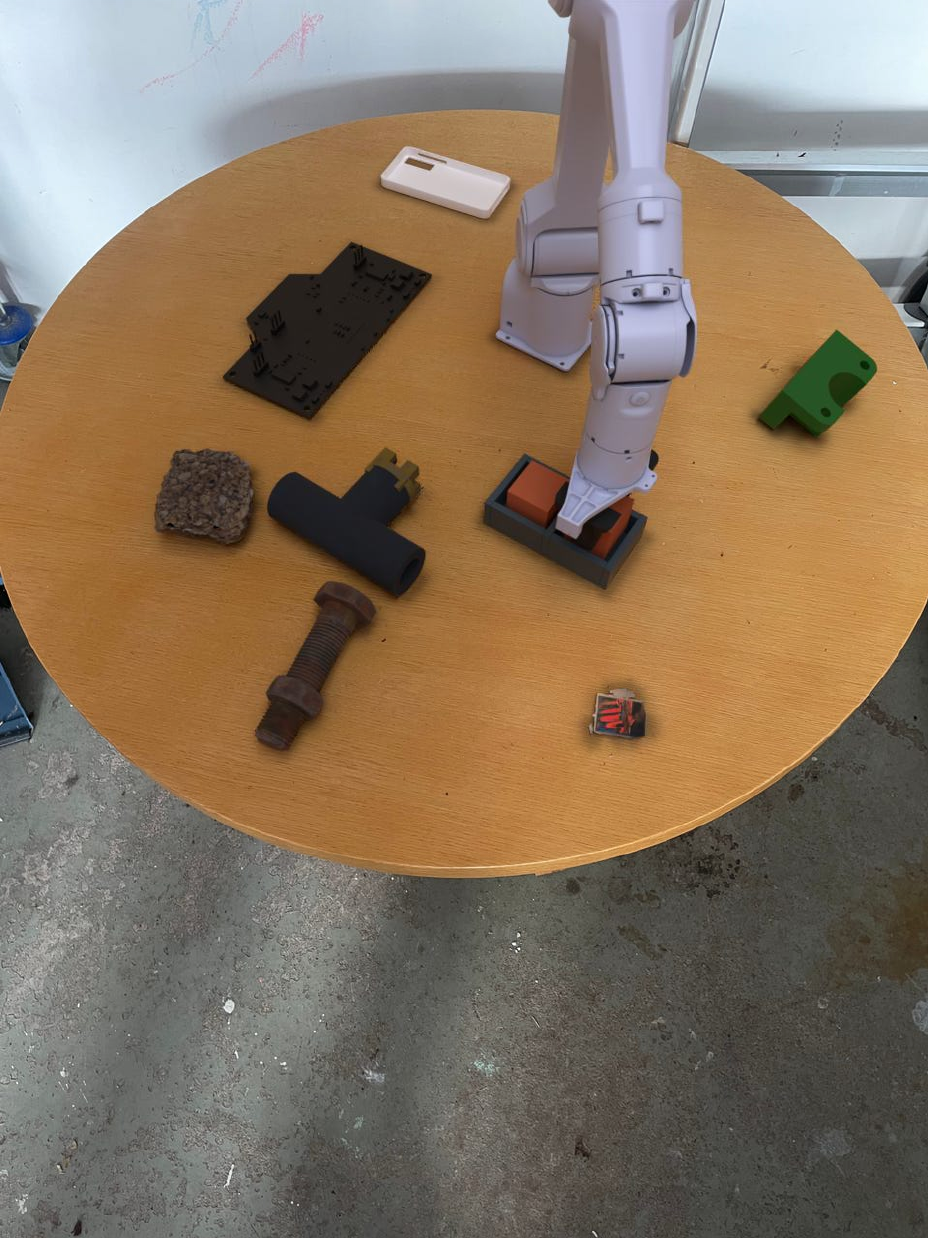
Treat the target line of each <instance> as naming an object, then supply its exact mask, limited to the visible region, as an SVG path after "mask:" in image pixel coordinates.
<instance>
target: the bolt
mask: <svg viewBox="0 0 928 1238" xmlns="http://www.w3.org/2000/svg"><path fill="white" fill-rule="evenodd" d="M312 601H314V602H315V604H316V605H317V606H319V608H320V610H319V612H318V613H317V616H316V619H315V621H314V624H313V625H312V628H311V629H310V631H309V632H308V634H307V635H306V638H305V639H304V641H303V643H302V645H301V647H300V648H299V651H298V652H297V653H296V657H294V660H293V661H292V664H291V665H290V667H289V668H288V671H287V673H286V674H285V675H284V674H282V675H277V676H276V677H275V678H274V679H273V680H272V681H271V683H270V685H269V686H268V688H267V690H266V692H265V695H266V698H267V699H268V701H269V702H270V704H269V705H268V708H266V711H265V712H264V715H263V716H262V718H260V722H259V723H258V725H257V726H256V729H254V737H255V738H256V739H257V742H259V743H260V744H262V745H264V746H267V747H269V748H272V749H274V750H276V751H281V752H284V751H288V750H290V748H289V747H291V746H292V745H291V744H293V740H295V737H296V736H297V733H298V732H299V730H300V729H301V726H302V725H303V724H302V723H304V720H306V721H307V720H308V721H310V720H312V719H314V718H316V717H317V716H318V715H319V713H320V712H321V710H322V707H323V705H324V704H325V703H324V700H323V697H322V695H321V694H320V693H319V692H320V691H321V689H322V688H323V685H325V683H324V682H326V681H327V680H326V679H327V678H328V675H329V674H330V672H331V671H332V669H333V667H334V665H335V662H337V659H338V658H339V656H340V653H341V652H342V650H343V648H344V646H345V645H346V644H345V643H346V642H347V640H348V639H349V637H350V636H351V635H352V634H353V632H354V630H355V628H356V629H358V630H360V629H362V628H364V627H366V626H367V625H369V624H371V623H372V622H373V620H374V619H375V616H376V614H377V609H376V607H375V604H374V602H373V601H372V600H371V598H370V597H368V596H367V595H366V594H364V593H362V592H361V591H360V590H358V589H356V588H355V587H353V586H352V585H349V584H347V583H345V582H342V581H341V582H340V581H331V580H328V581H326V582H324V583H323V584H322V585H321V586H320V588H319V589H318V590H317V592H316V594H315V596H314V597H313V599H312Z"/></svg>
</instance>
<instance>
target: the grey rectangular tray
mask: <svg viewBox="0 0 928 1238" xmlns="http://www.w3.org/2000/svg"><path fill="white" fill-rule="evenodd" d="M531 461H534V462H536V463H538V464H540V465H542V466H544V467H546V468H548V469H550V470H552V471H554V472H555V473H557V474H559V475H561V476H563V477H565V478H567V479H569V480H570V478H571V476H569V475H568V474H565V473H563V472H561V471H559V470H558V469H555V468H554V467H552V466H550V465H548V464H546V463H544V462H542V461H540V460H538V459H536V458H535V457H533V456H531V455H529V454H527V453H523V454H522V455H521V457H520V458H519V459H518V461H517V462H516V463H515V464H514V465H513V467H512V468H511V469H510V470H509V472H508V473H506V476H505V477H504V478H502V480H501V481H500V483H499V484H498V485H497V487H496V488H495V489H494V490H493V492H492V493H491V494H490V495H489V497H488V498H487V499H486V500H485V501H484V507H483V508H484V510H483V524H484V525H486V526H487V527H490V528H492V529H494V530H496V531H498V532H499V533H501V534H503V535H505V536H506V537H508V538H509V539H512V540H514V541H516V542H517V543H519V544H521V545H523V546H525V547H527V548H528V549H530V550H531V551H534V552H535V553H537V554H539V555H541V556H543V557H545V558H546V559H548V560H550V561H551V562H554V563H556V565H557V564H558V565H559V566H561V567H563V568H565V569H566V570H568V571H570V572H572V573H574V574H576V575H577V576H579V577H581V578H582V579H584V580H586V581H588V582H589V583H592V584H594V585H595V586H597V587H599V588H600V589H603V590H604V591H605V590H607V589H608V587H609V586H610V584H611V582H612V581H613V580H614V578H615V577H616V575H617V574H618V572H619V571H620V570H621V568H622V566H623V565H624V563H625V562H626V561H627V559H628V558H629V556H630V555H631V553H632V552H633V550H634V549H635V547H636V546H637V544H638V543H639V541H640V540H641V538H642V536H643V534H644V531H645V528H646V525H647V521H648V519H649V517H648V516H647V515H645V514H643V513H640V512H639V511H637V510H635V509H633V508H632V510H631V514H630V517H629V520H628V524H627V527H626V529H625V531H624V532H623V533H622V535H621V536H620V538H619V539H618V541H617V542H616V543H615V545H614V546H613V548H612V549H611V551H610V552H609V553H608V555H607V556H606V558H605V559H604V560H603V559H601V558H599V557H597V556H595V555H593V554H592V553H590V552H588V551H586V550H584V549H582V548H580V547H579V546H577V545H575V544H573V543H571V542H569V541H567V540H566V539H564V538H563V537H564V533H563V532H562V531H560V530H558V529H556V522H557V517H556V518H555V519H554V521H553V522H552V523H551V525H550V526H549V527H548V529H547V530H546V529H545V528H543V527H541V526H540V525H538V524H536V523H534V522H532V521H530V520H528V519H527V518H525V517H523V516H521V515H519V514H517V513H515V512H514V511H512V510H510V509H508V508H506V504H507V493H508V490H509V488H510V487H511V486H512V485H513V483H514V482H515V481H516V480H517V478H518V477H519V476H520V475H521V473H522V472H523V471H524V470H525V468H526V467H527V466H528V465H529V463H530V462H531ZM557 516H558V515H557Z"/></svg>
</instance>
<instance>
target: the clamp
mask: <svg viewBox="0 0 928 1238" xmlns="http://www.w3.org/2000/svg"><path fill="white" fill-rule="evenodd" d="M877 372H878V366H877V363H876V361H875V360H874V359H873V358H872V357H871V356H870V355H869V354H867V353H866V352H865V351H864V350H862V348H860V347H859V346H858V345H856V344H855V343H854V342H853V341H852V340H850V339H849V337H847V336H846V335H844V334H843V332H841V331H840V330H838V329H837V328H836V330H834V331H833V333H831V334H830V335H829V337H828V338H827V339H826V340H825V341H824V342H823V343H822V344H821V345H820V346H819V347H818V349H817V350H816V351H814V353H813V354H812V355H811V356H810V357H809V358H808V359H807V360H806V361H805V363H803V365H802V366H801V367H800V368H799V370H797V372H796V373H795V374H794V375H793V376H792V377H791V379H789V381H788V382H787V383H786V384H785V385H784V386H783V387H782V389H781V390H780V391H779V392H778V393H777V395H775V397H773V399H772V400H771V401H770V402H769V404H767V406H766V407H765V408H764V409H763V410H762V411H761V412H760V414H759V415H758V417H757V418H760V420H761V421H763V422H764V423H765V424H766V425H767V426H769V427H770V428H771V429H772V430H775V429H776V428H777V427H779V425H780V424H781V423H782V422H783V421H784V420H785V419H786V418H787V417H788V416H790V417H792V419H794V420H795V421H796V422H797V423H799V424H800V425H801V426H802V427H803V428H804V429H806V431H808V432H810V433H811V434H812V435H813V436H814V437H815V438H818V437H819V436H820V435H821V434H822V433H825V432H827V431H828V430H829V429H830V428H831V427H832V426H833V425H835V424H836V423H837V421H838V420H840V418H841V417H842V415H844V413H845V412H846V411H847V410H846V409H844V408H843V407H844V406H845V405H846V404H848V403H849V402H850V401H851V400H852V399H853V398H854V397H855V396H856V395H857V394H858V393H859V392H860V391H862V390H863V389H864V388H865V387H866V386H867V385H868V384H869V382H870V381H871V380H872V379H873V378H874V377H875V375H876V374H877Z"/></svg>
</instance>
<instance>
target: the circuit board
mask: <svg viewBox="0 0 928 1238" xmlns="http://www.w3.org/2000/svg"><path fill="white" fill-rule="evenodd" d="M432 277H433V274H432V273H430V272H428V271H425V270H423V269H420V268H418V267H415V266H412V265H410V264H408V263H406V262H403V261H401V260H398V259H395V258H393V257H391V256H388V255H386V254H384V253H381V252H378V251H375V250H373V249H371V248H368V247H365V246H363V244H358V243H356V242H353V241H350V242H349V243H348V244H347V245H346V246H345V248H343V249H342V250H341V251H340V253H339V254H338V255H337V256H336V257H335V258H334V259H333V260H332V261H331V262H330V263H329V264H328V265H327V266H326V268H324V270H322V272H320V273H288V274H287V276H286V277H284V278H283V279H282V281H280V283H279V284H277V286H276V287H275V288H274V289H273V290H272V291H271V292H270V293H268V294H267V296H265V298H264V299H263V300H262V301H261V302H260V303H259V304H258V305H257V306H256V307H255V308H254V309H253V310H252V311H251V312H250V313H249V314H248V315H247V316H246V317H245V320H246V323H247V324H248V325H249V327H250V328H251V330H252V334H253V336H252V334H251V333H249V335H248V336H249V340H250V344H249V346H248V347H249V348H248V349H247V350H246V351H245V352H244V353H243V354H242V356H240V358H238V359H237V360H236V361H235V363H233V365H232V366H231V367H230V368H229V369H228V370H227V371H226V372H225V373H224V374H223V375H222V378H223V380H225V381H227V382H229V383H231V384H234V385H235V386H237V387H239V388H242V389H244V390H245V391H248V392H251V393H253V394H255V395H257V396H259V397H261V398H263V399H266V400H267V401H270V402H272V403H274V404H277V405H278V406H280V407H282V408H285V409H287V410H289V411H292V412H293V413H295V414H298V415H300V416H301V417H304V418H306V419H308V420H310V419H311V418H312V417H313V416H314V414H315V413H316V412H317V411H318V410H319V409H320V407H322V406H323V404H324V403H325V402H326V401H327V400H328V398H329V397H330V396H331V395H332V394H333V393H334V392H335V391H336V389H337V388H338V387H339V385H340V384H341V383H342V382H343V381H344V380H345V378H347V377H348V375H349V374H350V373H351V372H352V371H353V369H354V368H356V365H357V364H359V362H360V361H361V360H362V359H363V358H364V357H365V355H366V354H367V353H368V352H369V351H370V350H371V348H372V347H373V346H374V345H375V344H376V342H378V340H379V339H380V338H381V337H382V336H383V334H384V333H385V332H386V331H387V330H388V329H389V327H390V326H391V325H392V324H393V323H394V322H395V320H396V319H397V318H398V317H399V316H400V315H401V313H402V312H403V311H404V310H405V309H406V308H407V307H408V306H409V305H410V303H412V301H413V300H414V298H415V297H416V296H417V295H418V294H419V293H420V291H422V289H423V288H424V287H425V286H426V285H427V284H428V283H429V281H430V280H431V279H432ZM253 337H254V339H253ZM233 375H234V376H233ZM306 409H309V410H307V411H306Z"/></svg>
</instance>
